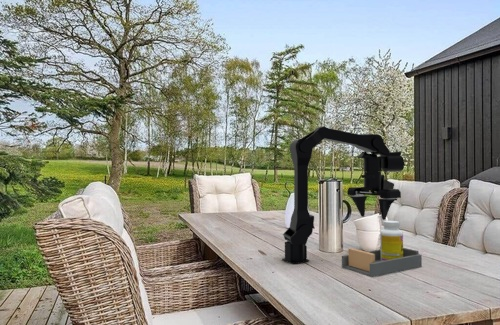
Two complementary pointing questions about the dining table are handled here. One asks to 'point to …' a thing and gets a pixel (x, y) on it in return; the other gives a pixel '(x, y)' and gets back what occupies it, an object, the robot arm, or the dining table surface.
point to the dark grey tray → (387, 263)
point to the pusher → (360, 259)
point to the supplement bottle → (391, 241)
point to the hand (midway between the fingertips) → (373, 218)
